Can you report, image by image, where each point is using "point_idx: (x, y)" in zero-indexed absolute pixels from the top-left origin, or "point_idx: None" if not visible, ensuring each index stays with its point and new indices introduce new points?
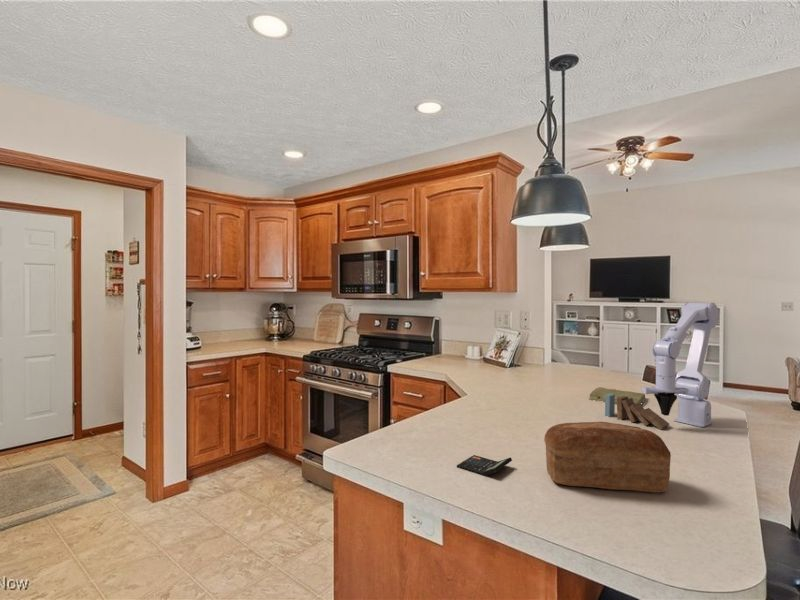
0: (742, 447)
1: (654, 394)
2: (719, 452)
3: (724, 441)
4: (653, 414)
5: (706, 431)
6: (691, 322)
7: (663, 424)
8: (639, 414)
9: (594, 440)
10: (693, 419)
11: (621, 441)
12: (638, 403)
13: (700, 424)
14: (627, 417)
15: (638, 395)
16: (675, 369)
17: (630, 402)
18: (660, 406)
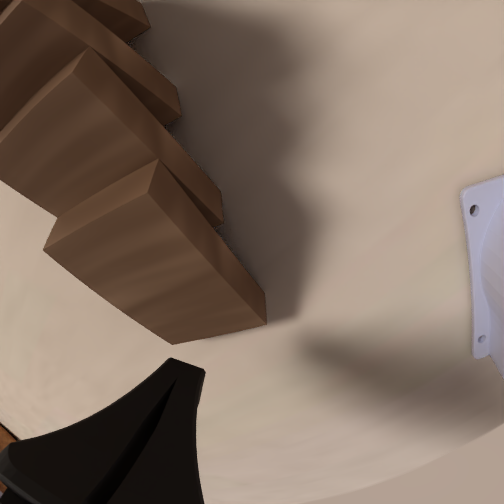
0: (330, 495)
1: (4, 458)
2: (213, 489)
3: (338, 470)
4: (153, 272)
5: (419, 396)
6: None
7: (190, 334)
8: (62, 213)
9: None
10: (501, 323)
11: None
12: (64, 93)
13: (490, 341)
14: (130, 36)
15: None
16: None
17: (5, 79)
18: (130, 402)
